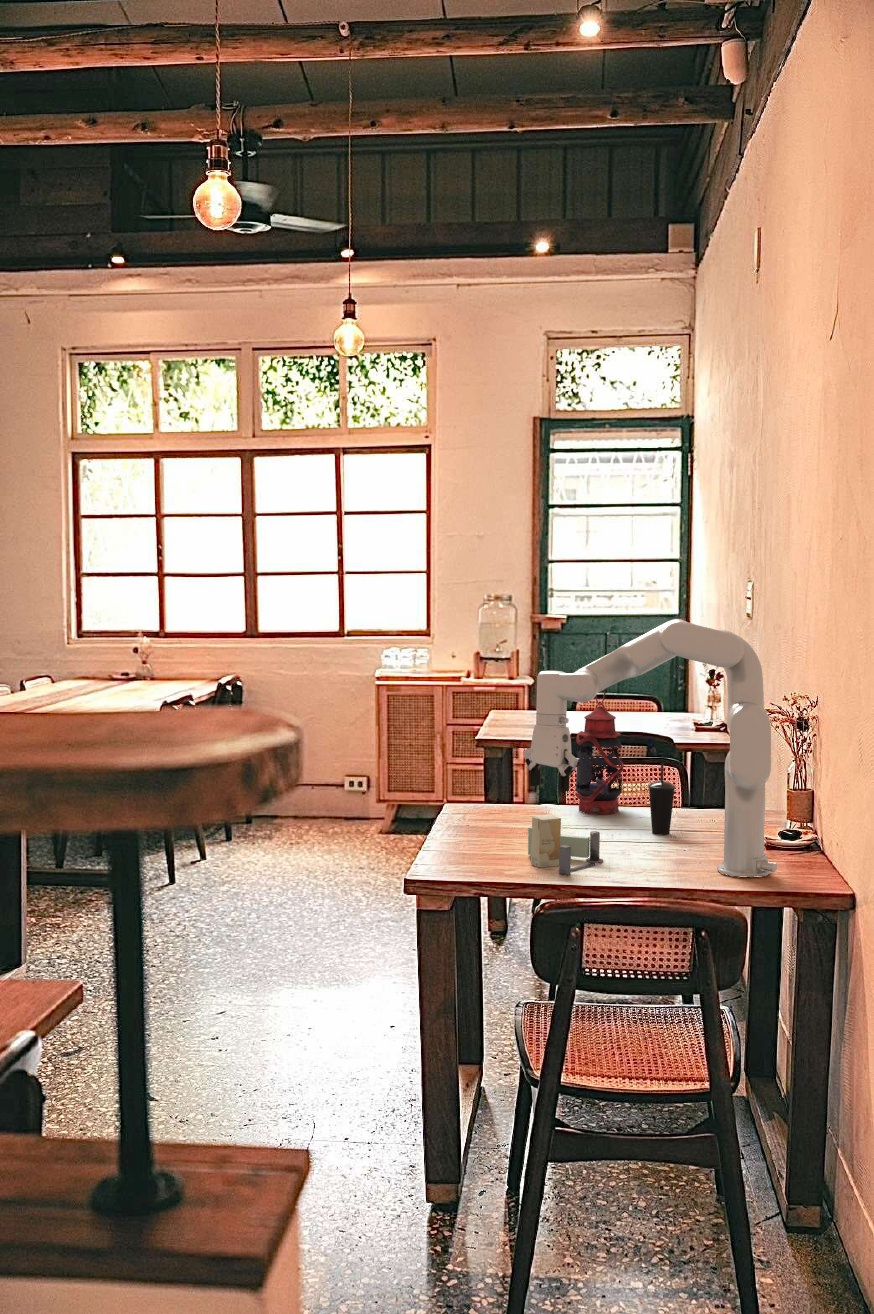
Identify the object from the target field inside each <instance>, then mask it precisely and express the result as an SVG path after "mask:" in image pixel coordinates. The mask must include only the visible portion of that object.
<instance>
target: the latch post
mask: <svg viewBox="0 0 874 1314" xmlns="http://www.w3.org/2000/svg"><path fill="white" fill-rule="evenodd" d="M571 861H572V856H571V846H567V845H563V846H559V866H558V875H559V876H563V877H566V876H571V873H572V872H575V871H579V870H583V869H587V868H590V867H594V866H596V863H587V864H583V865H578V866H575V867H572V866H571V865H572V864H571V863H572V862H571ZM571 871H572V872H571Z"/></svg>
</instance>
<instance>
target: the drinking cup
mask: <svg viewBox="0 0 874 1314" xmlns="http://www.w3.org/2000/svg"><path fill="white" fill-rule="evenodd" d="M676 787H677V786H676V785H675V784H673V783H671V782H668V781H665V780H664V762H661V763H660V780H657V781H654V782H652V783H649V784H648V785H647V788H648V791H649V792H648V793H649V794H648V795H649V807H650V820H651V821H650V822H651V834H653V835H655V836H669V835H670V833H671V822H672V814H673V806H674V799H675V797H674V795H675V789H676Z"/></svg>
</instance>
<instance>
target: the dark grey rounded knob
mask: <svg viewBox="0 0 874 1314" xmlns="http://www.w3.org/2000/svg"><path fill="white" fill-rule="evenodd" d="M600 835H601V832H600V831H597V830H596V831H595V830H594V831H590V833H589V837H590V848H589V857H588V858H585V862H586V863H587V864H589V863H596V864H602V863H604V859H603V858H600V846H601V845H600V841H601V840H600Z"/></svg>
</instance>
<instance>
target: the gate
mask: <svg viewBox="0 0 874 1314" xmlns="http://www.w3.org/2000/svg"><path fill="white" fill-rule="evenodd" d="M527 834H528V839H527V840H528V841H527V843H528V844H527V849H528V850H527V854H528V855H529V856H531V844H532V825H531V826H529V827H528V832H527ZM563 845H567V846H571V858H572V857H574V858H575V857H576V858H583V859H584V858H585V859H588V858H590V836H586V835H584V836H583V835H581V836H580V835H573V834H572V835H571V834H562V833H561V836H560V846H563Z"/></svg>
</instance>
